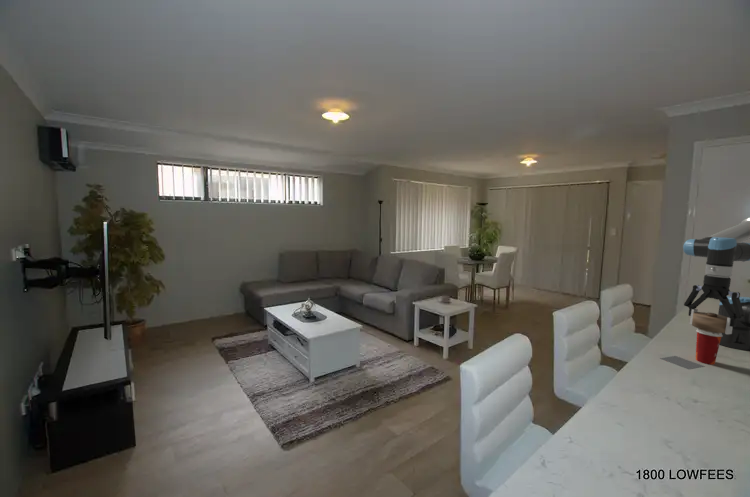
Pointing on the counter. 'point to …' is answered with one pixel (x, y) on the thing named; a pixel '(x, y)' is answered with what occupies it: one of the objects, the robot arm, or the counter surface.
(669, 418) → the counter surface
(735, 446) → the counter surface
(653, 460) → the counter surface
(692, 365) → the mat
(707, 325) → the lid
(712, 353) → the paper cup
